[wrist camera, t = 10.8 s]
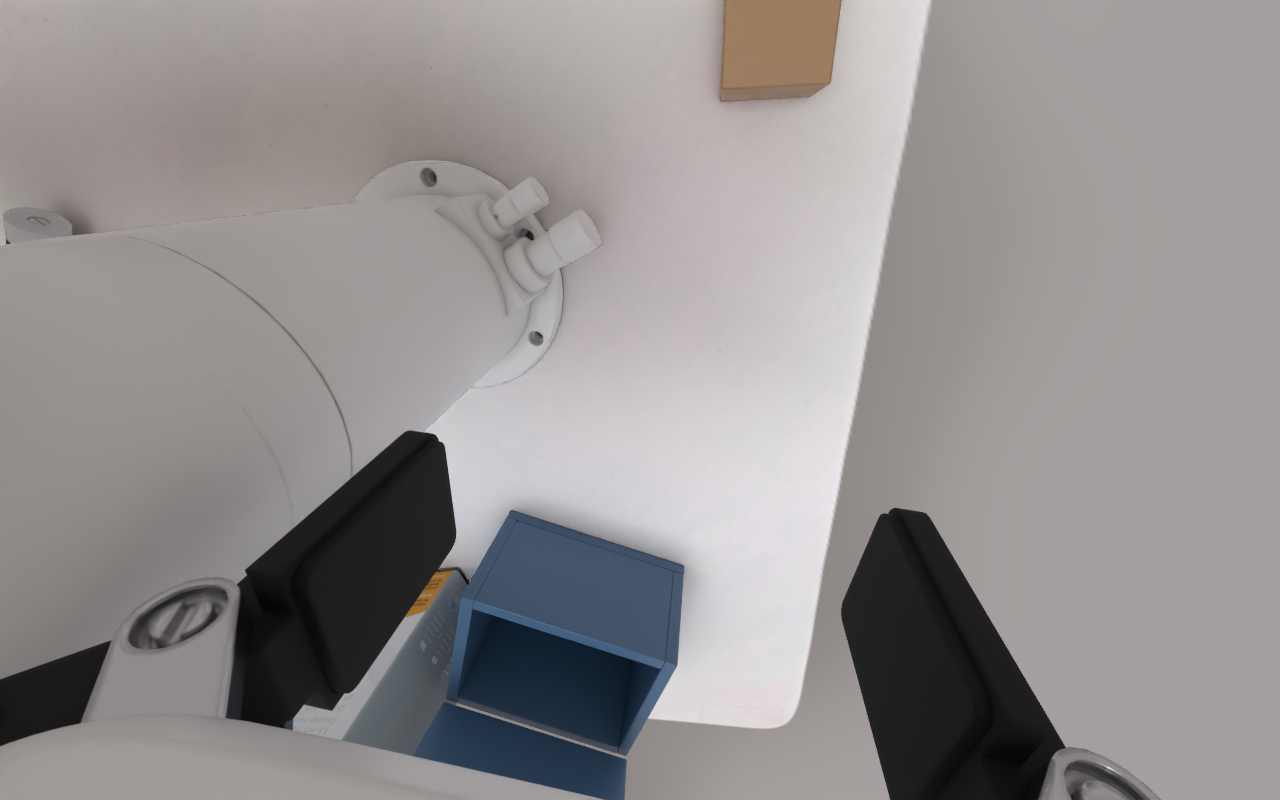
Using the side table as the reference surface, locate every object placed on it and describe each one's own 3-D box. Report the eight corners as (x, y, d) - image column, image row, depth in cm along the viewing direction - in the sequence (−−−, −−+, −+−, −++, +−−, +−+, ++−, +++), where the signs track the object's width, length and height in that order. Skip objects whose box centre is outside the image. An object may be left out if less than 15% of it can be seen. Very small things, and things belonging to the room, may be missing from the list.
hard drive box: (459, 564, 38) (243, 909, 21) (497, 626, 41) (338, 973, 24) (313, 582, 42) (26, 886, 24) (358, 638, 45) (132, 944, 28)
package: (725, -28, 19) (727, -70, 16) (826, -37, 19) (853, -83, 15) (719, 101, 21) (721, 90, 18) (810, 97, 21) (831, 84, 17)
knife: (106, 244, 28) (24, 190, 27) (54, 253, 26) (-37, 195, 25) (105, 483, 41) (49, 451, 40) (70, 502, 39) (10, 469, 38)
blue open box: (511, 510, 35) (461, 596, 28) (684, 565, 35) (677, 666, 28) (491, 607, 40) (445, 699, 33) (641, 654, 40) (626, 756, 33)
